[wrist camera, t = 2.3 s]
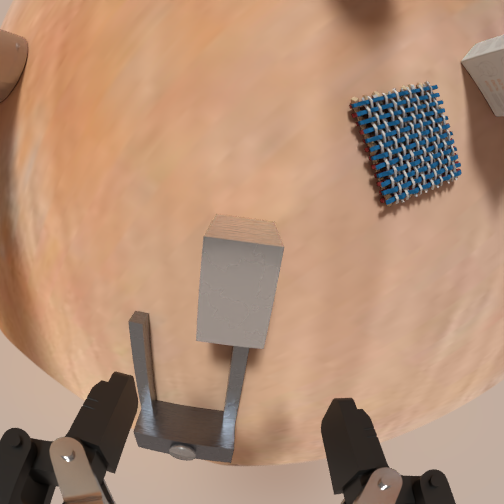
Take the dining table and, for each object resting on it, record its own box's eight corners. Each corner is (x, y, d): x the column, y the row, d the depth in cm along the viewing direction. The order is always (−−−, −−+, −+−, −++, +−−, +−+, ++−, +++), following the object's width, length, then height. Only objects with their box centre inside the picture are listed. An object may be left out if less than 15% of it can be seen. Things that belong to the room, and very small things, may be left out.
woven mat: (456, 176, 23) (467, 178, 21) (378, 208, 24) (388, 212, 22) (427, 81, 20) (438, 77, 18) (341, 100, 21) (349, 96, 19)
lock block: (207, 299, 26) (196, 344, 20) (216, 213, 24) (203, 236, 17) (259, 306, 27) (262, 352, 20) (274, 221, 24) (284, 246, 17)
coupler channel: (148, 414, 33) (136, 451, 26) (135, 311, 27) (109, 350, 20) (232, 428, 33) (230, 467, 27) (250, 328, 27) (251, 375, 21)
